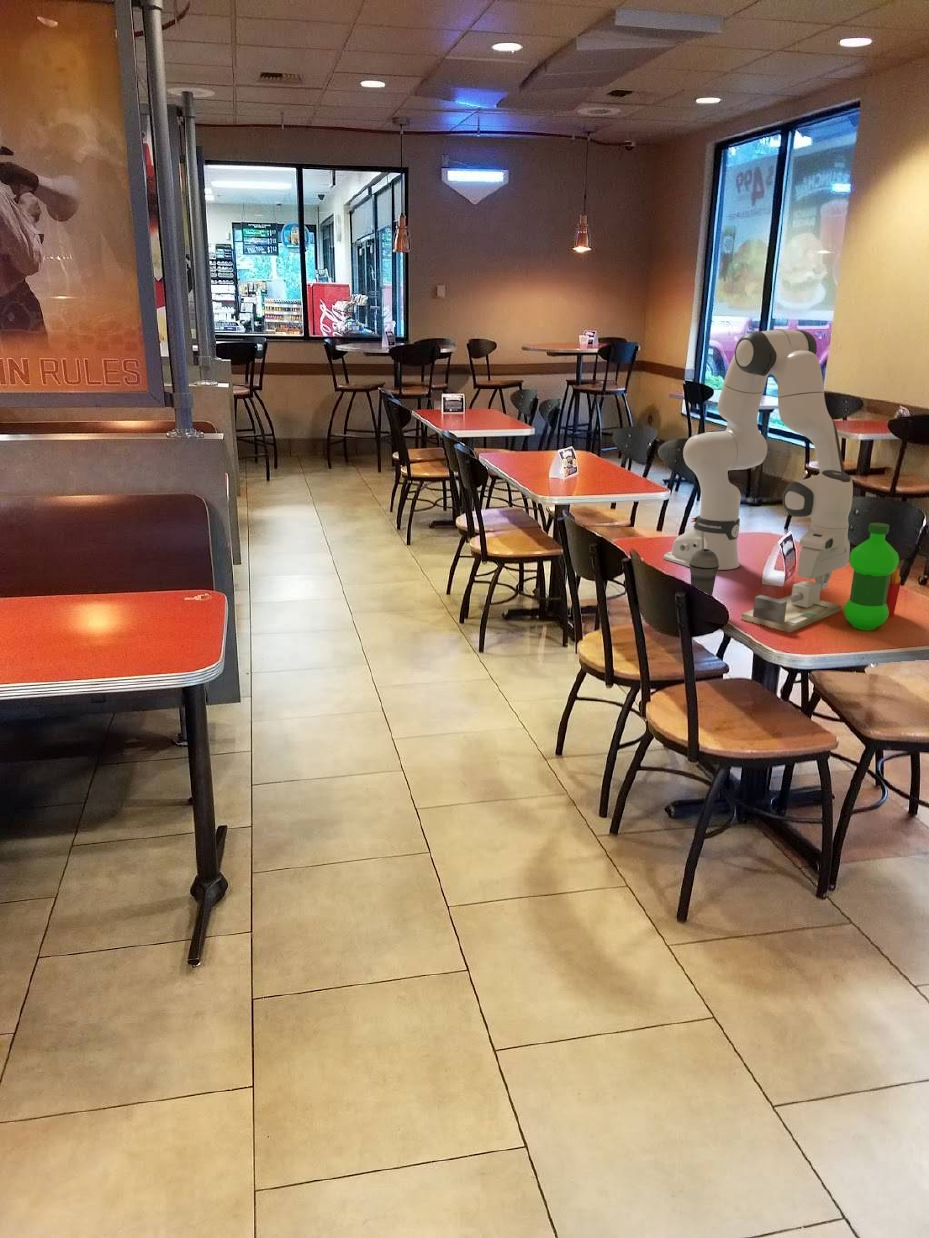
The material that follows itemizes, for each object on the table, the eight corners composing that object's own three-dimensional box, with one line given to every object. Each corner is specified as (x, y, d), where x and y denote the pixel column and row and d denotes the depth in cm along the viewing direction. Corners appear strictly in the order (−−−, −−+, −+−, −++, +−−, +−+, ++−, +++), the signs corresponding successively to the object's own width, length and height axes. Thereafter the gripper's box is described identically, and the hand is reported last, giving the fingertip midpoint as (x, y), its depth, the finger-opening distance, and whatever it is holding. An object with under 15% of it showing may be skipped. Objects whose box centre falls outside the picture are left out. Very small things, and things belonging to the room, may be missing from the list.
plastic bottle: (834, 627, 219) (848, 525, 211) (851, 616, 227) (865, 517, 219) (877, 636, 213) (893, 531, 205) (893, 626, 220) (909, 524, 212)
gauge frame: (741, 619, 225) (743, 594, 222) (793, 599, 240) (796, 575, 238) (789, 632, 215) (793, 606, 213) (840, 610, 231) (844, 586, 229)
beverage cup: (707, 615, 227) (715, 536, 221) (680, 609, 232) (687, 532, 225) (719, 608, 233) (727, 531, 227) (692, 602, 237) (699, 527, 231)
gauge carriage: (784, 606, 229) (787, 585, 227) (802, 599, 235) (805, 578, 233) (815, 613, 223) (818, 592, 221) (833, 606, 229) (836, 585, 227)
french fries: (898, 617, 227) (906, 570, 223) (883, 618, 226) (891, 571, 222) (879, 607, 235) (886, 561, 231) (865, 607, 234) (872, 562, 230)
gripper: (835, 528, 240) (828, 578, 244) (796, 540, 227) (789, 593, 231) (859, 532, 235) (851, 583, 240) (820, 544, 222) (813, 599, 227)
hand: (821, 588), depth 235 cm, fingers closed
